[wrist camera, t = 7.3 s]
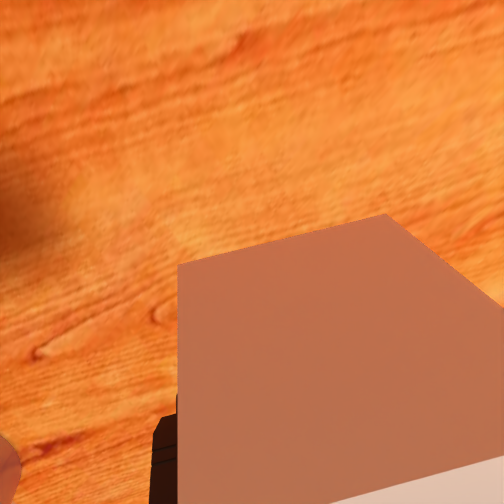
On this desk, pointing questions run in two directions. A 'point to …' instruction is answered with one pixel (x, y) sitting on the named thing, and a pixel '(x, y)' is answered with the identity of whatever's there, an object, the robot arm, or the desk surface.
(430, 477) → the upright white pillar block
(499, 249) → the desk surface
